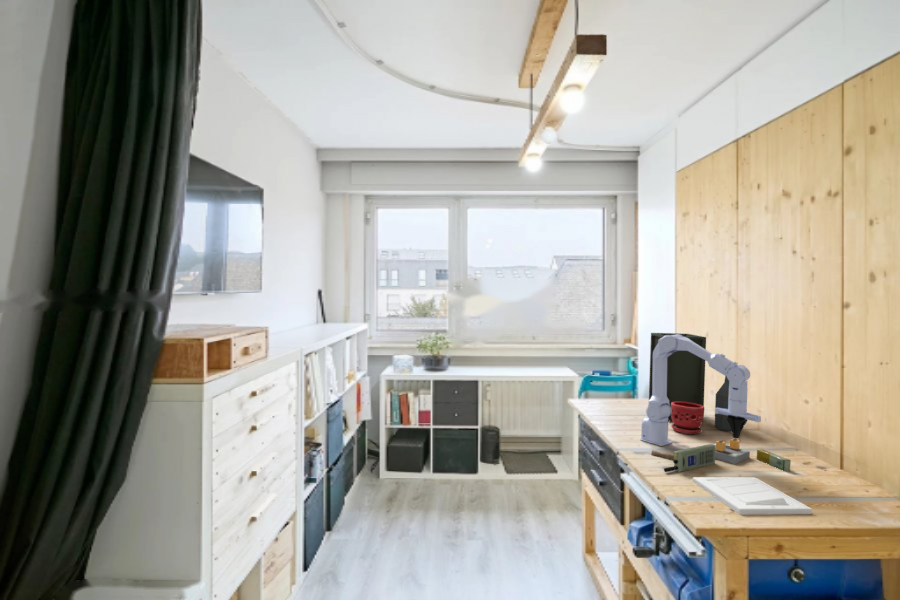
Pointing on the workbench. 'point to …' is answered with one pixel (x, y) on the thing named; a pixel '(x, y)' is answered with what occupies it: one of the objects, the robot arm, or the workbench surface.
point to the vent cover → (750, 496)
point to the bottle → (722, 402)
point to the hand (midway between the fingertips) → (736, 437)
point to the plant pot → (687, 417)
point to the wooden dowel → (662, 455)
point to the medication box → (773, 460)
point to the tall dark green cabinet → (682, 372)
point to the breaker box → (731, 455)
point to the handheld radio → (693, 458)
